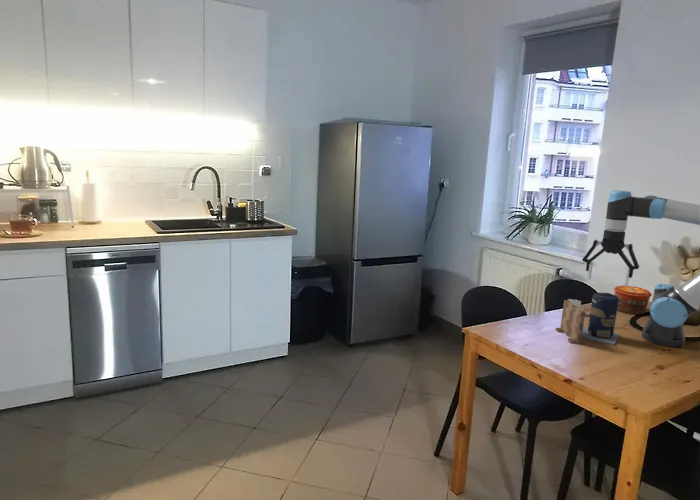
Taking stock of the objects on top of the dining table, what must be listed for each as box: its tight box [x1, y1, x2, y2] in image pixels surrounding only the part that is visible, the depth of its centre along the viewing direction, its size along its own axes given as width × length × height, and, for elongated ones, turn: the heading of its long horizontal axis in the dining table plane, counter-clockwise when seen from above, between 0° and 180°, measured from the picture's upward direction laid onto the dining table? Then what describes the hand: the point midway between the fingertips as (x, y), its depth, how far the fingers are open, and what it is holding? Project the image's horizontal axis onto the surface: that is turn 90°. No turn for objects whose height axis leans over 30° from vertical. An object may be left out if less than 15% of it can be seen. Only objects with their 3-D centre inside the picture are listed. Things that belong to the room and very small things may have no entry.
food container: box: [613, 284, 653, 316], centre depth 245 cm, size 16×16×11 cm
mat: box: [582, 325, 620, 346], centre depth 208 cm, size 14×14×1 cm
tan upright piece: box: [555, 299, 587, 345], centre depth 205 cm, size 16×6×13 cm, turn 0°
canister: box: [587, 292, 618, 338], centre depth 206 cm, size 10×10×18 cm
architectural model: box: [567, 298, 585, 311], centre depth 236 cm, size 3×7×7 cm, turn 57°
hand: (607, 282), depth 204 cm, fingers open, 13 cm apart
